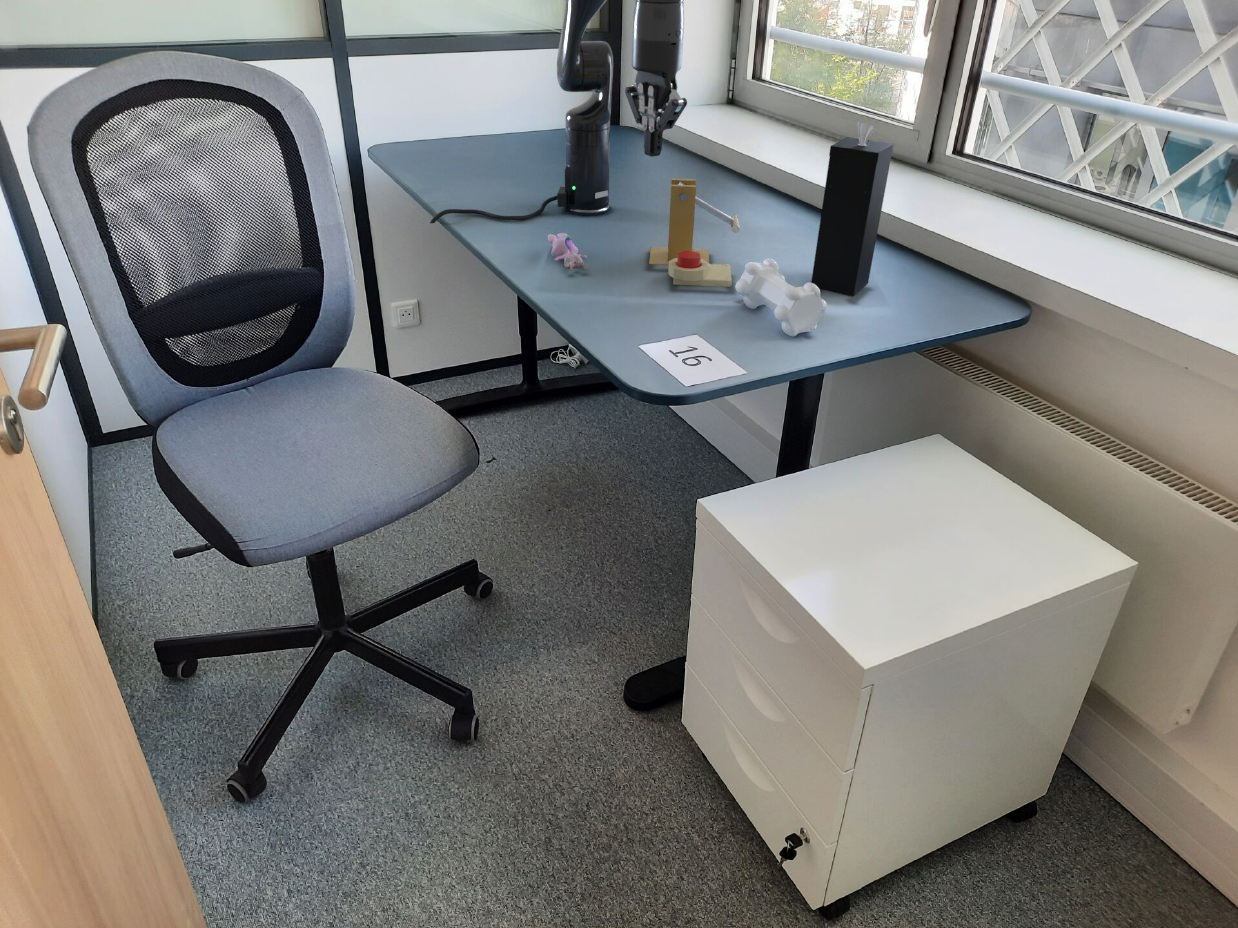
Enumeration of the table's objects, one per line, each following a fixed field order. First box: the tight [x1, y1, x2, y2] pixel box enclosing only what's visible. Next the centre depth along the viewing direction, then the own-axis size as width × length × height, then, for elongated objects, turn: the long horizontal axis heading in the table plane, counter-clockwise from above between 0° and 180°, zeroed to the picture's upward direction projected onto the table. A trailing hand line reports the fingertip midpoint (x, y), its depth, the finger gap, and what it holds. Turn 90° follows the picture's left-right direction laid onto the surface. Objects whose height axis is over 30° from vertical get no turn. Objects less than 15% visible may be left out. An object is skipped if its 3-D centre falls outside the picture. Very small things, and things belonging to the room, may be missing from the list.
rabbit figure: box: [547, 232, 588, 272], centre depth 162 cm, size 6×6×15 cm
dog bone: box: [735, 257, 828, 337], centre depth 141 cm, size 15×9×8 cm, turn 24°
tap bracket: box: [648, 178, 710, 266], centre depth 160 cm, size 11×9×15 cm
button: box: [677, 251, 701, 269], centre depth 152 cm, size 4×4×2 cm
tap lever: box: [678, 182, 740, 234], centre depth 159 cm, size 13×6×2 cm, turn 88°
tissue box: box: [810, 121, 895, 297], centre depth 146 cm, size 8×8×28 cm
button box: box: [667, 258, 733, 288], centre depth 154 cm, size 11×9×4 cm
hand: (652, 155), depth 140 cm, fingers closed
